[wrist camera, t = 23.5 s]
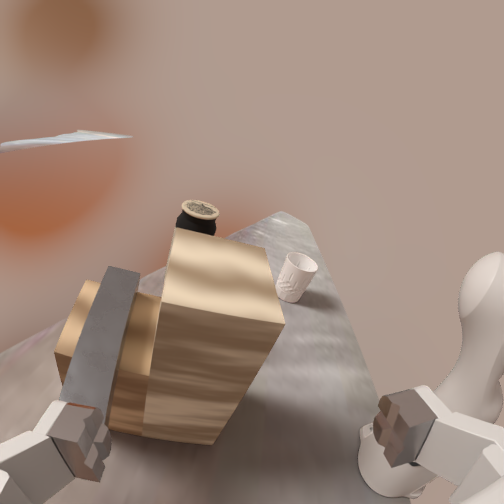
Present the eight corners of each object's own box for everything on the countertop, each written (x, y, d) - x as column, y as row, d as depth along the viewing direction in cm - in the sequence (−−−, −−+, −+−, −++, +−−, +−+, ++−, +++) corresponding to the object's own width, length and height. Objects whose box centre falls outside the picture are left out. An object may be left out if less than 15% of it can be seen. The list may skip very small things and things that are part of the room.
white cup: (278, 304, 71) (295, 270, 67) (267, 283, 77) (282, 250, 73) (306, 305, 75) (323, 273, 70) (293, 284, 81) (309, 253, 76)
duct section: (105, 442, 19) (103, 429, 18) (61, 430, 18) (54, 415, 17) (137, 292, 36) (140, 273, 35) (107, 285, 35) (108, 265, 34)
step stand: (212, 445, 37) (285, 324, 25) (72, 419, 32) (41, 271, 19) (209, 380, 47) (264, 248, 35) (89, 356, 42) (90, 207, 30)
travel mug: (191, 298, 63) (213, 222, 55) (157, 283, 63) (174, 207, 55) (203, 279, 70) (225, 209, 62) (172, 266, 70) (190, 195, 62)
